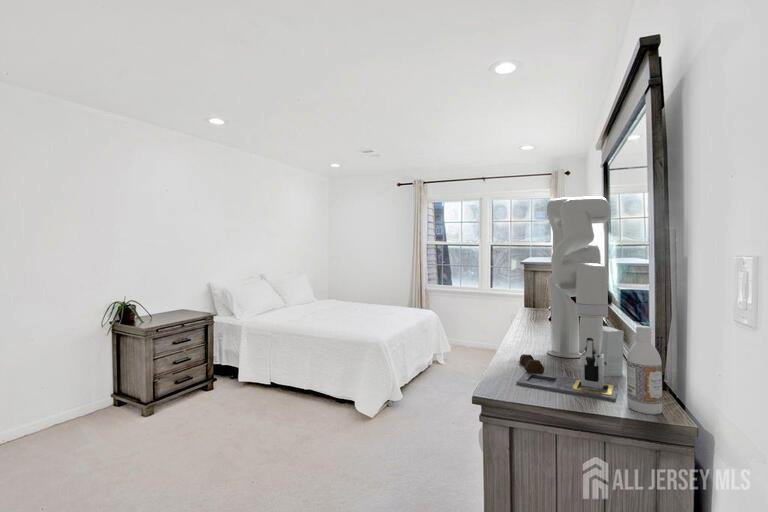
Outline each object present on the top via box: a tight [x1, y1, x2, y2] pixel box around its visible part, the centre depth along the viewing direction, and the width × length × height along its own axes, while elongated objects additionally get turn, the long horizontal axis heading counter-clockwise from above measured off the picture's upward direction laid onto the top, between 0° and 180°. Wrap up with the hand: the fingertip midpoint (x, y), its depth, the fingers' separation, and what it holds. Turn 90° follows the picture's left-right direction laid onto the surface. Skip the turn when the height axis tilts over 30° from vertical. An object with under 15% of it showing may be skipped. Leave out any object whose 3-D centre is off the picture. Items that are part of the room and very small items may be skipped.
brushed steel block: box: [580, 351, 605, 389], centre depth 103 cm, size 5×5×8 cm
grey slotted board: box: [515, 371, 619, 403], centre depth 107 cm, size 12×24×2 cm, turn 56°
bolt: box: [519, 354, 545, 374], centre depth 126 cm, size 6×5×15 cm
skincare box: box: [600, 325, 625, 377], centre depth 120 cm, size 8×6×15 cm
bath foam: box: [626, 325, 663, 416], centre depth 93 cm, size 7×7×20 cm
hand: (592, 377), depth 103 cm, fingers closed on brushed steel block, 5 cm apart
